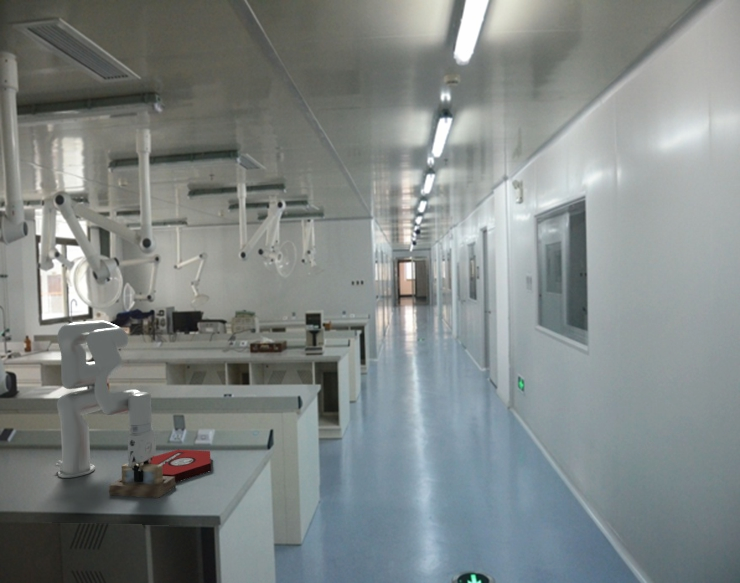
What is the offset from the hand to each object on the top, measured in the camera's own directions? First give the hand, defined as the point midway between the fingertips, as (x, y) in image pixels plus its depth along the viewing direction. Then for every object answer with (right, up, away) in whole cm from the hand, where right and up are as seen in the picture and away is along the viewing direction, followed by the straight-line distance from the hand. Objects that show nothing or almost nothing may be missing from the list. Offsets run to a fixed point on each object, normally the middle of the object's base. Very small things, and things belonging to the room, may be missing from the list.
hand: (142, 478), depth 182 cm
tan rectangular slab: (0, -3, 0) cm, 3 cm away
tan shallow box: (0, -4, 0) cm, 4 cm away
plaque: (+4, -4, +21) cm, 22 cm away
